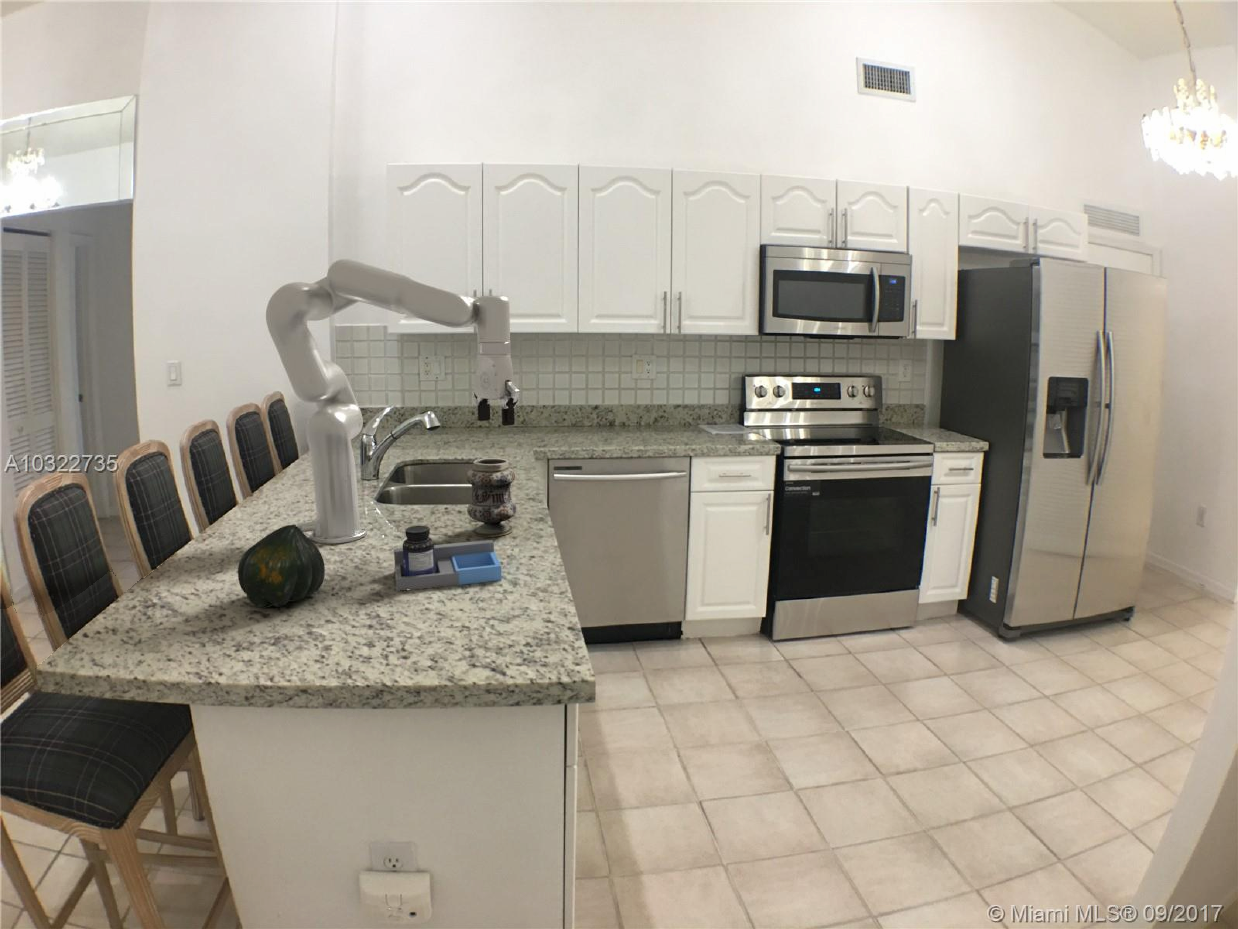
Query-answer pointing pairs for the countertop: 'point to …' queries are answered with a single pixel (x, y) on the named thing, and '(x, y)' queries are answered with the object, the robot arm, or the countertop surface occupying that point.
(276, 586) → the squash
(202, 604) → the countertop surface
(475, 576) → the organizer tray
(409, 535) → the pill bottle
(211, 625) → the countertop surface
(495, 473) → the apothecary jar
